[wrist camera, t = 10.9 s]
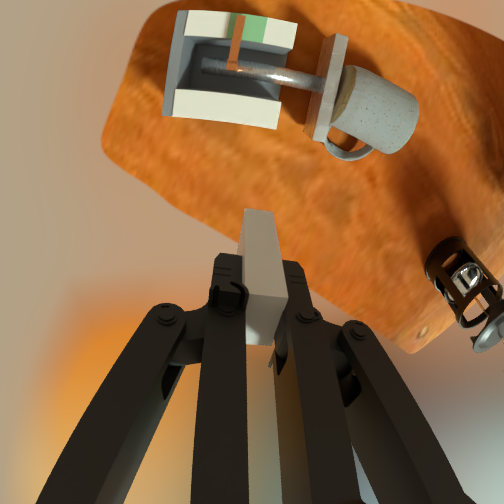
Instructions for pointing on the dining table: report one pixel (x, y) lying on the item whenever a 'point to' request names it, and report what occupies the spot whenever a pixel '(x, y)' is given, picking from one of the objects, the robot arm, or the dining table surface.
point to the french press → (468, 290)
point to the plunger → (291, 76)
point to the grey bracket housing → (225, 87)
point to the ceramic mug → (371, 113)
